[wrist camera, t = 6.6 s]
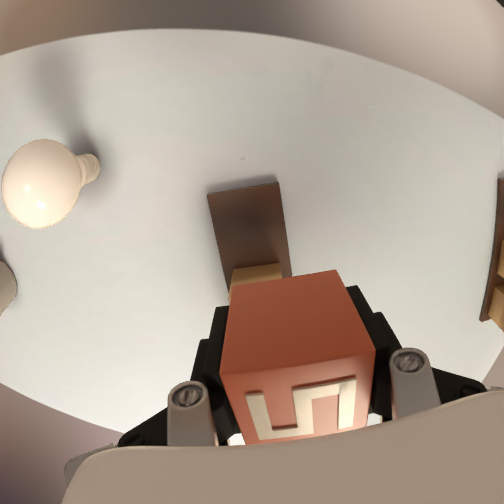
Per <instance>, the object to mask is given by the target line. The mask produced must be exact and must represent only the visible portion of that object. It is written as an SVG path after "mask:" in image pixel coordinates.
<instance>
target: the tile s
mask: <svg viewBox="0 0 504 504" xmlns="http://www.w3.org/2000/svg"><path fill="white" fill-rule="evenodd" d="M375 353H376V349H375V347H374V345H373V343H372V341H371V339H370V337H369V334H368V332H367V330H366V328H365V326H364V324H363V322H362V320H361V318H360V316H359V314H358V312H357V310H356V308H355V306H354V304H353V302H352V300H351V298H350V296H349V294H348V292H347V290H346V288H345V286H344V284H343V282H342V280H341V278H340V276H339V274H338V272H337V270H330V271H324V272H318V273H312V274H306V275H300V276H294V277H287V278H281V279H275V280H268V281H262V282H255V283H248V284H241V285H235V286H232V293H231V299H230V306H229V312H228V319H227V325H226V332H225V339H224V345H223V352H222V359H221V366H220V373H219V375H220V377H221V380H222V383H223V386H224V389H225V391H226V394H227V397H228V400H229V402H230V405H231V408H232V410H233V413H234V416H235V418H236V421H237V423H238V426H239V429H240V431H241V434H242V436H243V439H244V441H245V444H246V445H251V444H263V443H273V442H282V441H290V440H298V439H305V438H312V437H318V436H324V435H329V434H335V433H340V432H345V431H349V430H354V429H359V428H363V427H366V425H367V419H368V413H369V406H370V398H371V391H372V382H373V374H374V364H375Z"/></svg>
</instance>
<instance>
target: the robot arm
mask: <svg viewBox="0 0 504 504" xmlns="http://www.w3.org/2000/svg"><path fill="white" fill-rule="evenodd" d="M345 288H346V290H347V292H348V294H349V296H350V298H351V300H352V302H353V304H354V306H355V308H356V310H357V312H358V314H359V316H360V318H361V320H362V322H363V324H364V326H365V328H366V330H367V332H368V334H369V337H370V339H371V341H372V343H373V345H374V347H375V349H376V353H375V364H374V374H373V382H372V391H371V398H370V406H369V413H368V414H371V413H375V414H378V415H380V424H376V425H372V426H367V427H363V428H359V429H354V430H349V431H345V432H340V433H335V434H329V435H324V436H318V437H312V438H305V439H298V440H290V441H282V442H273V443H263V444H251V445H235V446H230V441H229V438H230V437H231V436H232V435H234V434H237V433H241V431H240V429H239V426H238V423H237V421H236V418H235V416H234V413H233V410H232V408H231V405H230V402H229V400H228V397H227V394H226V391H225V389H224V386H223V383H222V380H221V377H220V375H219V373H220V366H221V359H222V352H223V345H224V339H225V332H226V325H227V319H228V312H229V306H221V307H216V309H215V313H214V318H213V322H212V327H211V332H210V336H209V339H201V340H200V343H199V346H198V350H197V354H196V358H195V363H194V367H193V371H192V375H191V379H190V381H186V382H183V383H180V384H178V385H177V386H175V387H174V388H173V389H172V390H171V391H170V393H169V395H168V407H167V408H165V409H164V410H162V411H160V412H159V413H157V414H156V415H154V416H153V417H151V418H149V419H148V420H146V421H145V422H143V423H141V424H140V425H138V426H136V427H135V428H133V429H132V430H130V431H128V432H127V433H125V434H124V435H123V436H122V437H121V438H120V440H119V442H118V444H117V445H115V446H114V445H113V444H109V445H106V446H104V447H101V448H99V449H96V450H94V451H91V452H88V453H85V454H82V455H80V456H77V457H74V458H72V459H70V460H69V461H68V462H67V463H66V465H65V467H64V477H65V481H66V486H67V491H66V493H65V496H64V498H63V501H62V503H61V504H504V388H502V387H492V386H491V387H490V389H486V388H485V386H484V385H483V384H482V383H480V382H479V381H476V380H474V379H470V378H466V377H463V376H459V375H456V374H453V373H449V372H446V371H442V370H439V369H436V368H433V367H431V365H430V362H429V359H428V357H427V355H426V354H425V353H424V352H423V351H421V350H419V349H416V348H402V346H401V345H400V343H399V341H398V339H397V338H396V336H395V334H394V332H393V331H392V329H391V327H390V325H389V324H388V322H387V320H386V319H385V317H384V315H383V314H382V313H381V312H376V313H373V312H372V310H371V308H370V306H369V305H368V303H367V301H366V299H365V298H364V296H363V294H362V292H361V291H360V289H359V287H358V286H357V285H355V286H349V287H345Z"/></svg>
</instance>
